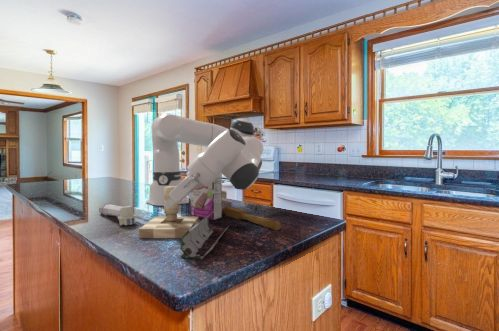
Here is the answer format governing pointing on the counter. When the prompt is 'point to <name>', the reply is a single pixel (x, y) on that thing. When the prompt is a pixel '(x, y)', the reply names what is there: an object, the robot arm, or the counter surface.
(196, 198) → the candy bar box
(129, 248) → the counter surface
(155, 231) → the board
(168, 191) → the peg
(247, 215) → the tap handle
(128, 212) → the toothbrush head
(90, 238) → the counter surface
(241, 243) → the counter surface
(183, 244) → the grey angled channel
